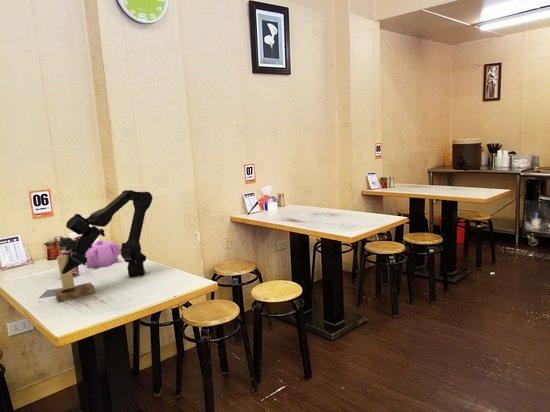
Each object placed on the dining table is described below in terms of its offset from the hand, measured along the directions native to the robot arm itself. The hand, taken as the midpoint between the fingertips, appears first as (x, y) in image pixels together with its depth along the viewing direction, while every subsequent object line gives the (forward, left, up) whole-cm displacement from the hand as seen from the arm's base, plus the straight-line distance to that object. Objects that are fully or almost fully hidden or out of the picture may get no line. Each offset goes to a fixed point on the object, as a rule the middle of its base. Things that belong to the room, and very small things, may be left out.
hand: (61, 272), depth 167 cm
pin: (-1, -1, -7) cm, 7 cm away
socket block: (-3, -1, -11) cm, 11 cm away
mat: (+7, -9, -11) cm, 16 cm away
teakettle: (-4, -50, -11) cm, 52 cm away
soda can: (+7, -32, -11) cm, 35 cm away
